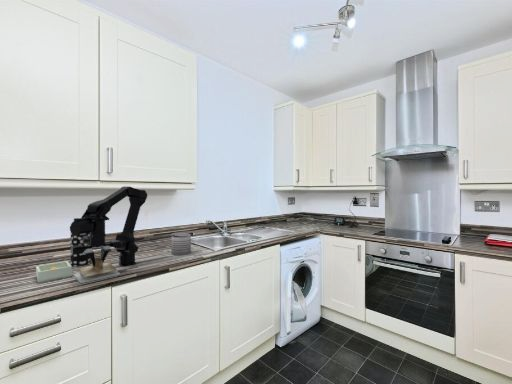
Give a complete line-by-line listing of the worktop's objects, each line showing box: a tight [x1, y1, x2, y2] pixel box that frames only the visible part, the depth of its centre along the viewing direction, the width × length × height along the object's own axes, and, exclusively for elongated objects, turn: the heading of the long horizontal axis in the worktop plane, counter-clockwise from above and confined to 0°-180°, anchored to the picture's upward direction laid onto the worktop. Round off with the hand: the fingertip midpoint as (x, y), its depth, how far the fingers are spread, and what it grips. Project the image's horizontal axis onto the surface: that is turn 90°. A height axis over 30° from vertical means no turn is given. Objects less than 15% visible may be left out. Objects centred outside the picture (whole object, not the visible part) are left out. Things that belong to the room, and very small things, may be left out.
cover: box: [78, 257, 118, 277], centre depth 109 cm, size 12×12×5 cm
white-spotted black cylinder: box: [70, 232, 92, 267], centre depth 125 cm, size 8×8×20 cm
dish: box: [35, 260, 73, 284], centre depth 107 cm, size 11×11×4 cm
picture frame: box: [73, 270, 121, 284], centre depth 109 cm, size 15×13×1 cm
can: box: [170, 232, 192, 257], centre depth 147 cm, size 11×11×12 cm
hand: (97, 266), depth 109 cm, fingers closed on cover, 2 cm apart
